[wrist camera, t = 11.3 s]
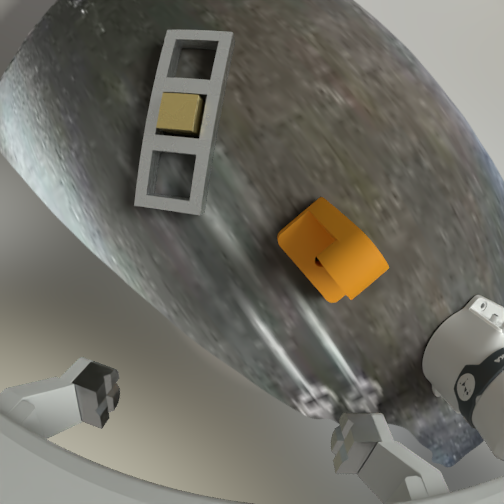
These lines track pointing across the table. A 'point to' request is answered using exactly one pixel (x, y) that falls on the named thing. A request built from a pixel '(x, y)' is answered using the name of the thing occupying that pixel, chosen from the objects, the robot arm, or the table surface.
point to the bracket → (332, 251)
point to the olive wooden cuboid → (181, 114)
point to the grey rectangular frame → (182, 145)
